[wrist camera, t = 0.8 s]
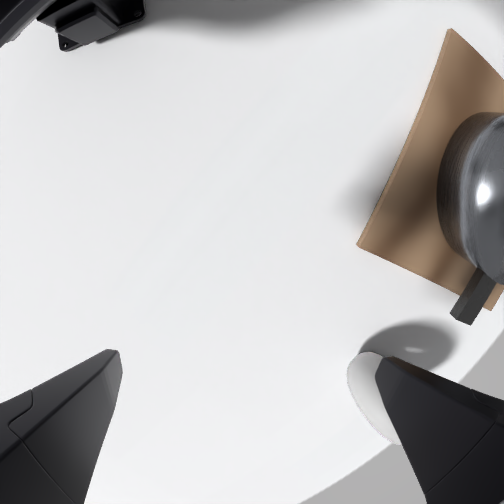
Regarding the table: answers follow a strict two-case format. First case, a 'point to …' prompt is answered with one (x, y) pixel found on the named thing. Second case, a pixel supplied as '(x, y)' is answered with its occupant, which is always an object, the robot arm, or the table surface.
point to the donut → (370, 394)
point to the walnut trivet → (433, 171)
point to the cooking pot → (474, 206)
